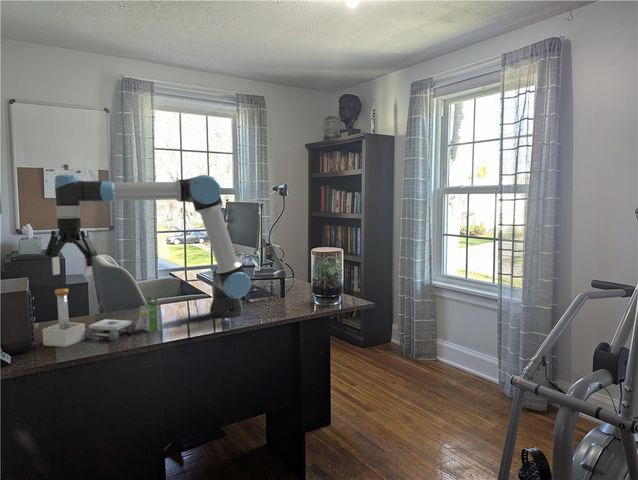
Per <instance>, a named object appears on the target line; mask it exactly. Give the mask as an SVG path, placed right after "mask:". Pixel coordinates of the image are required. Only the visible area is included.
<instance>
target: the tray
mask: <svg viewBox="0 0 638 480" xmlns="http://www.w3.org/2000/svg"><path fill="white" fill-rule="evenodd" d="M85 332H86V324H85V323H84V322H83V323H81V322H80V323H79V322H69V329H66V330H59V323H56V324H53V325H50V326H48V327H45V328H42V344H43V346H48V347H49V346H50V347H59V348H68V347H70V346H73V345H74V344H76V343H79V342H81V341H84V340H86V339H87V338H86V337H85Z"/></svg>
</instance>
